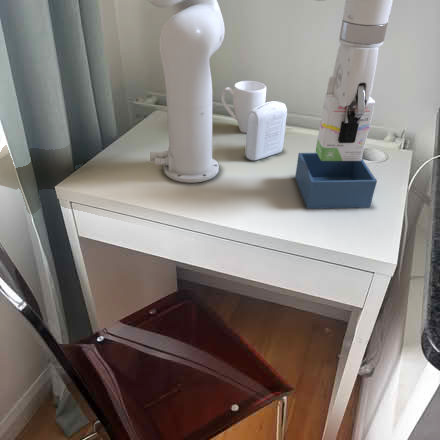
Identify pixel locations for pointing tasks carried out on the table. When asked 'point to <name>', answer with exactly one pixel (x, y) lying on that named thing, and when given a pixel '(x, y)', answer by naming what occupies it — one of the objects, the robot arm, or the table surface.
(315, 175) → the holder
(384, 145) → the table surface
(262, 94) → the mug
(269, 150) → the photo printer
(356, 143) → the ink box
